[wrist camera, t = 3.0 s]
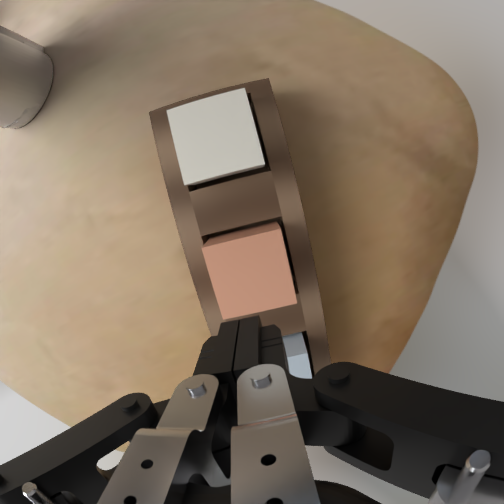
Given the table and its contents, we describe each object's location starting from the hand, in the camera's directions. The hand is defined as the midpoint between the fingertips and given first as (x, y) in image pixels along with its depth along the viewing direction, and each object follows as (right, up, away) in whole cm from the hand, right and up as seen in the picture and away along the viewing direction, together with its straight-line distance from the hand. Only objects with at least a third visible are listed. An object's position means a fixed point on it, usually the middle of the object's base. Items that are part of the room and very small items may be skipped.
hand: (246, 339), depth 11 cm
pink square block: (0, +3, +11) cm, 11 cm away
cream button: (-2, +11, +9) cm, 14 cm away
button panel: (0, +3, +14) cm, 14 cm away
